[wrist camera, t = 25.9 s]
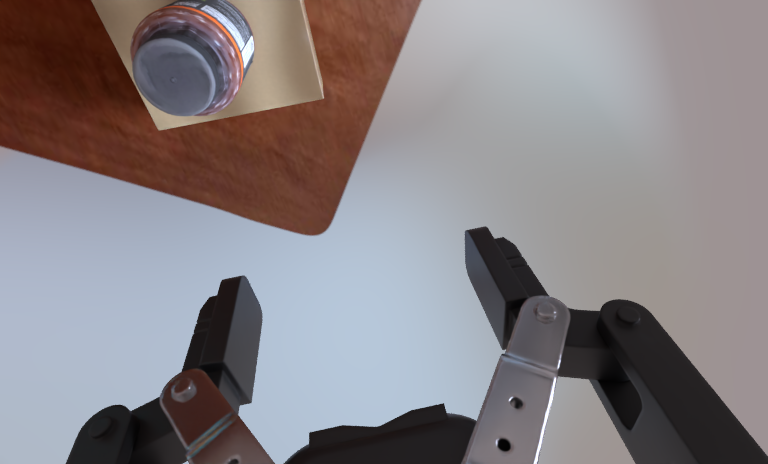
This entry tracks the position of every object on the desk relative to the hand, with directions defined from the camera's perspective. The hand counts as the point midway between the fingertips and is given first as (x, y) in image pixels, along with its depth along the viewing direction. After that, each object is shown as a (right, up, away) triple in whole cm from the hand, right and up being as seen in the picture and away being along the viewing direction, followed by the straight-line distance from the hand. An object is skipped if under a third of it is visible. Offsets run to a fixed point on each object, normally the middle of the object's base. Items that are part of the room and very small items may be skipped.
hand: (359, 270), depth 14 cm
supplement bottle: (-12, +16, +15) cm, 25 cm away
